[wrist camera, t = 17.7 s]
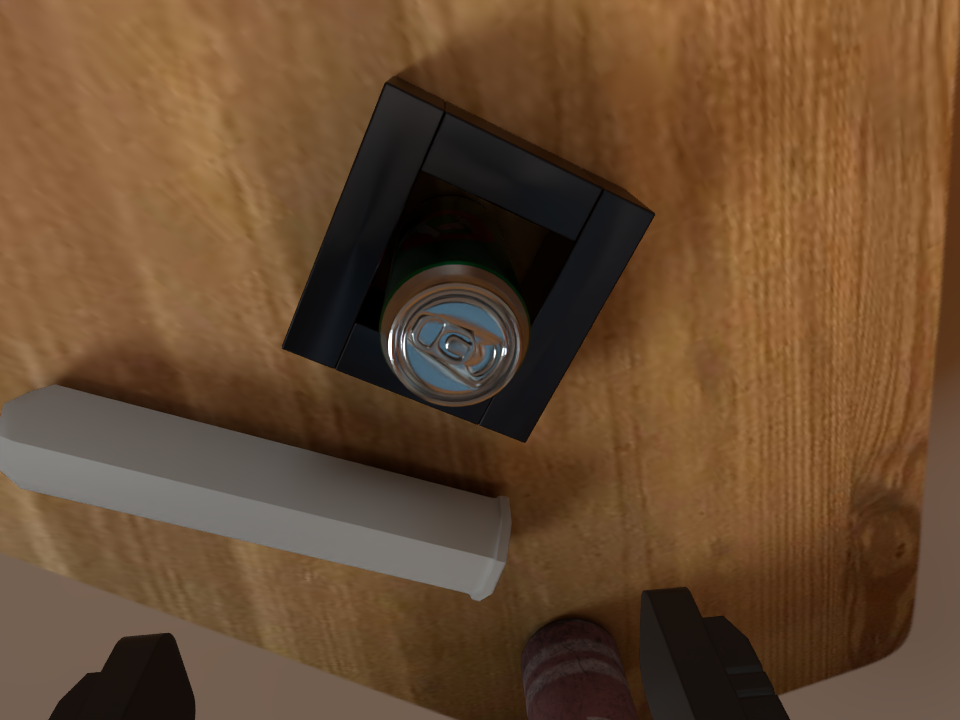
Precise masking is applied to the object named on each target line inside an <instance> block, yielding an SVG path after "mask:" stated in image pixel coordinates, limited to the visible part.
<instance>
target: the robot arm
mask: <svg viewBox="0 0 960 720" xmlns="http://www.w3.org/2000/svg"><path fill="white" fill-rule="evenodd" d="M639 660H640V670H641V677H642V683H643V687H644V691H645V695H646V698H647V701H648V705H649V708H650V711H651V714H652V717H653V720H790V719H789V717H788V715H787V713H786V711H785V709H784V707H783V705H782V703H781V701H780V700H779V697H778V695H775V692H774V688H773V686H772V684H771V682H770V680H769V678H768V676H767V674H766V672H763V669H762V665H761V663H760V661H759V659H758V657H757V655H756V653H755V651H754V649H753V647H752V645H751V643H750V642H749V640H748V638H747V637H746V636H745V635H744V634H742V633H741V632H740V631H739V630H738V629H737V628H736V627H735V626H734V625H733V624H732V623H731V622H729V621H728V620H727V619H726V618H725V617H724V616H716V617H706V618H702V616H701V614H700V612H699V610H698V607H697V605H696V603H695V601H694V599H693V597H692V594H691V592H690V591H689V589H688V588H687V587H677V588H666V589H655V590H644V591H643V592H642V595H641V614H640V648H639ZM49 720H195V699H194V694H193V691H192V688H191V685H190V682H189V679H188V676H187V673H186V670H185V667H184V664H183V661H182V658H181V655H180V652H179V649H178V646H177V643H176V640H175V638H174V637H173V635H172V634H170V633H160V634H151V635H139V636H129V637H123V638H121V639H120V640H119V641H118V642H117V644H116V645H115V647H114V649H113V651H112V652H111V654H110V656H109V658H108V660H107V662H106V663H105V665H104V667H103V669H102V671H101V672H95V673H87V674H86V675H85V676H84V677H83V678H82V679H81V680H80V681H79V682H78V683H77V684H76V685H75V686H74V687H73V688H72V689H71V690H70V691H69V692H68V693H67V694H66V695H65V696H64V697H63V698H62V699H61V700H60V701H59V702H58V704H57V706H56V707H55V709H54V711H53V713H52V714H51V716H50V718H49Z"/></svg>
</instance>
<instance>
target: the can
mask: <svg viewBox="0 0 960 720" xmlns="http://www.w3.org/2000/svg"><path fill="white" fill-rule="evenodd" d="M521 670H522V678H523V686H524V694H525V701H526V709H527V717H528V720H638V717H637V714H636V710H635V707H634V704H633V700H632V697H631V693H630V690H629V686H628V683H627V680H626V676H625V673H624V669H623V666H622V662H621V659H620V656H619V652H618V649H617V645H616V642H615V641H614V640H613V638H612V637H611V636H610V634H609V633H608V632H606V631H605V630H603V629H602V628H600V627H599V626H597V625H595V624H594V623H592V622H588V621H584V620H581V619H564V620H560V621H556V622H552V623H550V624H548V625H546V626H544V627H542V628H540V629H539V630H538V631H537V632H536V633H535V634H534V635H533V636H532V637H531V638H530V640H529V641H528V643H527V645H526V647H525V649H524V650H523V652H522V658H521Z"/></svg>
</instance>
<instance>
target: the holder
mask: <svg viewBox="0 0 960 720" xmlns="http://www.w3.org/2000/svg"><path fill="white" fill-rule="evenodd" d="M420 170H422V171H423V172H425V173H427V174H429V175H431V176H433V177H435V178H438V179H440V180H442V181H444V182H446V183H448V184H450V185H453V186H455V187H457V188H459V189H461V190H463V191H465V192H468V193H470V194H472V195H474V196H476V197H478V198H480V199H483V200H485V201H487V202H489V203H491V204H493V205H495V206H498V207H500V208H502V209H504V210H506V211H508V212H510V213H513V214H515V215H517V216H519V217H521V218H523V219H525V220H528V221H530V222H532V223H534V224H536V225H538V226H541V227H543V228H545V229H547V230H549V232H548V234H547V236H546V238H545V240H544V242H543V244H542V246H541V248H540V249H539V251H538V253H537V255H536V257H535V259H534V261H533V263H532V265H531V267H530V269H529V271H528V273H527V275H526V277H525V279H524V281H523V282H522V284H521V286H520V289H521V292H522V295H523V298H524V302H525V305H526V308H527V311H528V314H529V318H530V325H531V337H530V343H529V348H528V351H527V354H526V357H525V359H524V361H523V363H522V365H521V366H520V368H519V370H518V371H517V372H516V373H515V375H514V376H513V377H512V379H511V380H510V381H509V382H508V384H507V385H506V386H505V387H504V388H503V389H501V390H500V391H499V392H498V393H496V394H495V395H493V396H492V397H490V398H488V399H486V400H484V401H482V402H479V403H476V404H473V405H467V406H458V407H450V406H442V405H438V404H434V403H431V402H428V401H426V400H424V399H422V398H420V397H418V396H417V395H415V394H414V393H412V392H411V391H410V390H409V389H408V388H406V386H405V385H404V384H403V383H402V382H401V381H400V380H399V379H398V378H397V377H396V376H395V375H394V374H393V373H392V371H391V369H390V368H389V366H388V365H387V363H386V361H385V359H384V356H383V354H382V351H381V347H380V343H379V321H380V316H381V311H382V306H383V302H384V297H385V292H382V291H380V290H377V289H375V288H373V287H370V286H371V284H372V282H373V279H374V277H375V275H376V272H377V270H378V268H379V265H380V263H381V261H382V258H383V256H384V254H385V251H386V249H387V247H388V244H389V242H390V240H391V237H392V235H393V233H394V230H395V228H396V226H397V223H398V221H399V219H400V216H401V214H402V212H403V209H404V207H405V205H406V202H407V200H408V198H409V195H410V193H411V191H412V188H413V186H414V184H415V181H416V179H417V177H418V174H419V172H420ZM654 216H655V213H654V212H653V211H651V210H650V209H649V208H648V207H646V206H645V205H644V204H643V203H641V202H640V201H639V200H638V199H636V198H635V197H634V196H633V195H631V194H630V193H629V192H628V191H626V190H625V189H623V188H621V187H619V186H617V185H615V184H613V183H611V182H609V181H607V180H605V179H603V178H601V177H599V176H597V175H595V174H593V173H591V172H589V171H587V170H585V169H581V168H580V167H579V166H577V165H575V164H573V163H571V162H569V161H567V160H564V159H562V158H560V157H558V156H556V155H554V154H552V153H550V152H548V151H546V150H544V149H542V148H540V147H538V146H536V145H534V144H532V143H530V142H528V141H526V140H524V139H522V138H520V137H518V136H516V135H514V134H512V133H510V132H508V131H506V130H504V129H502V128H500V127H498V126H496V125H494V124H492V123H490V122H488V121H486V120H484V119H482V118H479V117H477V116H475V115H473V114H471V113H469V112H467V111H465V110H463V109H461V108H459V107H457V106H455V105H453V104H451V103H449V102H447V101H445V102H444V100H443V99H441V98H439V97H437V96H435V95H433V94H431V93H429V92H427V91H425V90H423V89H421V88H419V87H417V86H415V85H413V84H411V83H409V82H407V81H405V80H403V79H401V78H399V77H397V76H393V77H392V78H390V79H389V80H388V81H387V82H385V84H384V86H383V89H382V91H381V94H380V96H379V99H378V102H377V104H376V107H375V109H374V112H373V114H372V117H371V119H370V122H369V125H368V127H367V130H366V132H365V135H364V137H363V140H362V142H361V145H360V148H359V150H358V153H357V155H356V158H355V160H354V163H353V165H352V168H351V171H350V173H349V176H348V178H347V181H346V183H345V186H344V189H343V191H342V194H341V196H340V199H339V201H338V204H337V206H336V209H335V212H334V214H333V217H332V219H331V222H330V224H329V227H328V229H327V232H326V235H325V237H324V240H323V242H322V245H321V247H320V250H319V252H318V255H317V258H316V260H315V263H314V265H313V268H312V270H311V273H310V275H309V278H308V281H307V283H306V286H305V288H304V291H303V293H302V296H301V298H300V301H299V304H298V306H297V309H296V311H295V314H294V316H293V319H292V321H291V324H290V327H289V329H288V332H287V334H286V337H285V339H284V342H283V344H282V349H284V350H287V351H289V352H292V353H294V354H297V355H300V356H302V357H305V358H307V359H310V360H312V361H315V362H318V363H320V364H323V365H325V366H328V367H330V368H333V369H334V368H335V369H336V370H338V371H340V372H343V373H345V374H348V375H350V376H353V377H356V378H358V379H361V380H363V381H366V382H368V383H371V384H374V385H376V386H379V387H381V388H384V389H387V390H389V391H392V392H394V393H397V394H399V395H402V396H405V397H407V398H410V399H412V400H415V401H418V402H420V403H423V404H425V405H428V406H430V407H433V408H436V409H438V410H441V411H443V412H446V413H448V414H451V415H454V416H456V417H459V418H461V419H464V420H467V421H469V422H472V423H474V424H477V425H478V424H479V425H480V426H483V427H485V428H488V429H490V430H493V431H495V432H498V433H501V434H503V435H506V436H508V437H511V438H513V439H516V440H519V441H521V442H524V443H525V442H526V441H527V439H528V437H529V436H530V434H531V432H532V430H533V429H534V427H535V425H536V423H537V422H538V420H539V418H540V416H541V415H542V413H543V411H544V409H545V408H546V406H547V404H548V402H549V401H550V399H551V397H552V395H553V394H554V392H555V390H556V388H557V387H558V385H559V383H560V381H561V379H562V378H563V376H564V374H565V372H566V371H567V369H568V367H569V365H570V364H571V362H572V360H573V358H574V357H575V355H576V353H577V351H578V350H579V348H580V346H581V344H582V343H583V341H584V339H585V337H586V336H587V334H588V332H589V330H590V329H591V327H592V325H593V323H594V322H595V320H596V318H597V316H598V314H599V313H600V311H601V309H602V307H603V306H604V304H605V302H606V300H607V299H608V297H609V295H610V293H611V292H612V290H613V288H614V286H615V285H616V283H617V281H618V279H619V278H620V276H621V274H622V272H623V271H624V269H625V267H626V265H627V264H628V262H629V260H630V258H631V257H632V255H633V253H634V251H635V250H636V248H637V246H638V244H639V242H640V241H641V239H642V237H643V235H644V234H645V232H646V230H647V228H648V227H649V225H650V223H651V221H652V220H653V218H654Z"/></svg>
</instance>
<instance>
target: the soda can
mask: <svg viewBox="0 0 960 720" xmlns="http://www.w3.org/2000/svg"><path fill="white" fill-rule="evenodd" d="M530 337H531V325H530V318H529V314H528V311H527V308H526V305H525V302H524V298H523V295H522V292H521V289H520V286H519V283H518V280H517V277H516V274H515V271H514V268H513V265H512V262H511V259H510V255H509V252H508V249H507V246H506V243H505V240H504V237H503V234H502V231H501V228H500V226H499V224H498V222H497V221H496V219H495V218H494V217H493V215H492V214H491V213H490V212H489V211H488V210H487V209H486V208H484V207H483V206H481V205H480V204H479V203H477V202H475V201H473V200H470V199H467V198H464V197H458V196H442V197H436V198H433V199H431V200H428V201H426V202H424V203H422V204H420V205H419V206H418V207H416V208H415V209H414V210H413V211H412V212H411V213H410V214H409V215H408V216H407V217H406V219H405V220H404V222H403V223H402V226H401V228H400V230H399V233H398V237H397V240H396V245H395V250H394V255H393V259H392V264H391V269H390V273H389V278H388V283H387V288H386V292H385V297H384V302H383V306H382V311H381V316H380V321H379V343H380V347H381V351H382V354H383V356H384V359H385V361H386V363H387V365H388V366H389V368H390V369H391V371H392V373H393V374H394V375H395V376H396V377H397V378H398V379H399V380H400V381H401V382H402V383H403V384H404V385H405V386H406V388H408V389H409V390H410V391H411V392H412V393H414V394H415V395H417V396H418V397H420V398H422V399H424V400H426V401H428V402H431V403H434V404H438V405H442V406H450V407H458V406H467V405H473V404H476V403H479V402H482V401H484V400H486V399H488V398H490V397H492V396H493V395H495V394H496V393H498V392H499V391H500V390H501V389H503V388H504V387H505V386H506V385H507V384H508V382H509V381H510V380H511V379H512V377H513V376H514V375H515V373H516V372H517V371H518V370H519V368H520V366H521V365H522V363H523V361H524V359H525V357H526V354H527V351H528V348H529V343H530Z"/></svg>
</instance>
